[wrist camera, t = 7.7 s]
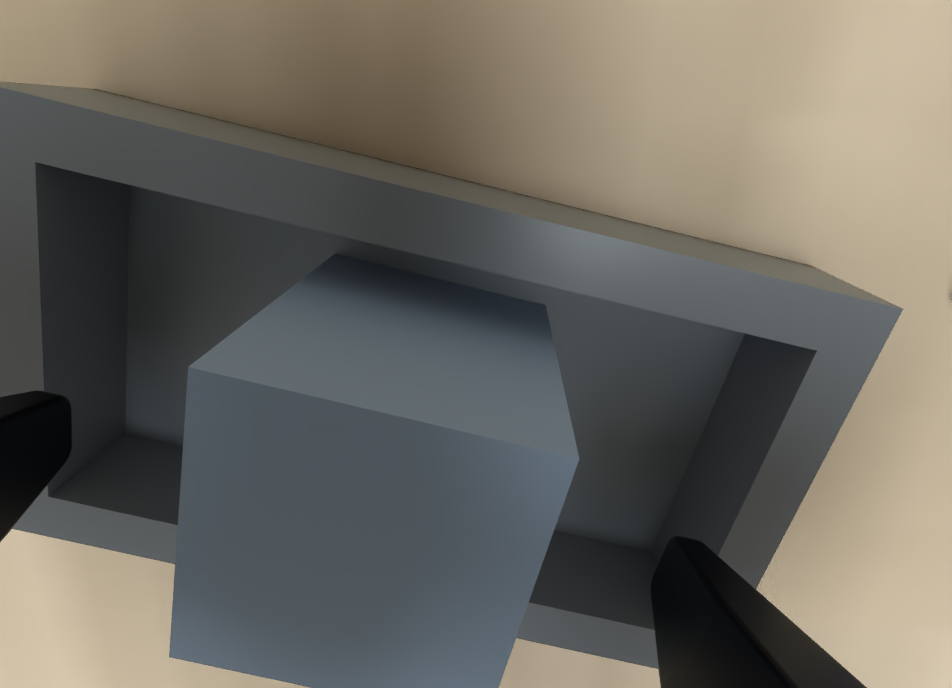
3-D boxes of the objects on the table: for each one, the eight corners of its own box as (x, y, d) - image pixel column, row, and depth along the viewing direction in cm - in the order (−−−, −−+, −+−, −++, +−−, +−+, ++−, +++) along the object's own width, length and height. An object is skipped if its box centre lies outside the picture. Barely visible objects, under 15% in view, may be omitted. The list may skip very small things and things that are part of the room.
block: (493, 481, 14) (485, 724, 8) (306, 438, 14) (169, 657, 8) (545, 304, 12) (579, 458, 7) (335, 253, 12) (188, 367, 6)
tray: (670, 577, 15) (708, 679, 12) (96, 448, 15) (0, 525, 12) (812, 266, 12) (903, 309, 9) (96, 89, 12) (-34, 79, 9)
